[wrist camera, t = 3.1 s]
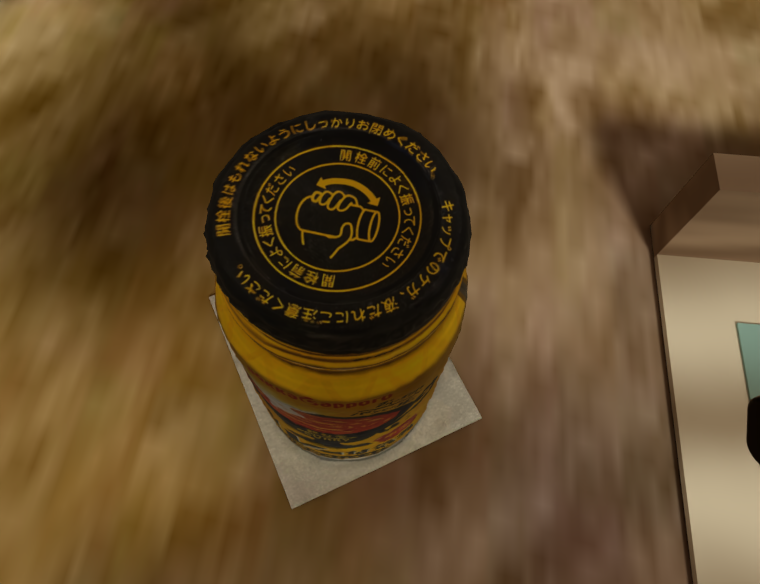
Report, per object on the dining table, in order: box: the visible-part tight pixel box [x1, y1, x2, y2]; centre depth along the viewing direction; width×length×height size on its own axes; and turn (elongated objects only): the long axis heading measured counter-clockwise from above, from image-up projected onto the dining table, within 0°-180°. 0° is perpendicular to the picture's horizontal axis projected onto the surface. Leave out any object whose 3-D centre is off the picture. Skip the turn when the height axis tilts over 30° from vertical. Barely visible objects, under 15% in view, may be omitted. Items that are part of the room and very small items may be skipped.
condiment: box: [203, 111, 482, 509], centre depth 18 cm, size 7×8×12 cm
